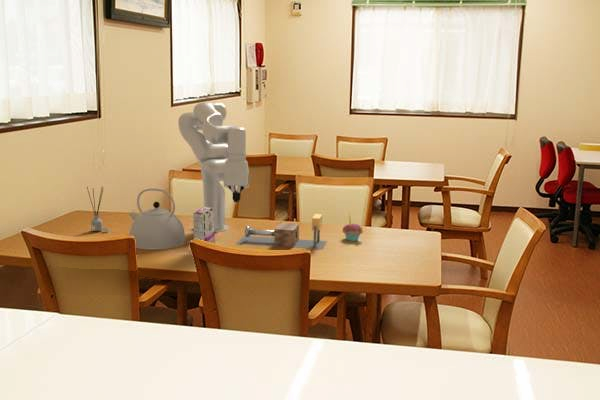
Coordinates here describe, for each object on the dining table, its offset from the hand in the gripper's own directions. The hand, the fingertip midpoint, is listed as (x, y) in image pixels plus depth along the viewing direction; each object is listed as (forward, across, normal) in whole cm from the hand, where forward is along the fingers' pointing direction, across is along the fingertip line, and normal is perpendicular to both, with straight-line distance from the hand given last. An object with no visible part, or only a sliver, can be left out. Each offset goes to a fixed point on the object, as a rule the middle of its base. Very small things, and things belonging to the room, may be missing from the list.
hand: (236, 201), depth 271 cm
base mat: (+17, +19, 0) cm, 26 cm away
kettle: (+17, -32, -9) cm, 38 cm away
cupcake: (+17, +47, +13) cm, 52 cm away
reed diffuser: (+17, -63, +2) cm, 65 cm away
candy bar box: (+17, -9, -17) cm, 26 cm away
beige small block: (+9, +34, 0) cm, 35 cm away
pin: (+15, +12, 0) cm, 19 cm away
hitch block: (+16, +26, 0) cm, 31 cm away
